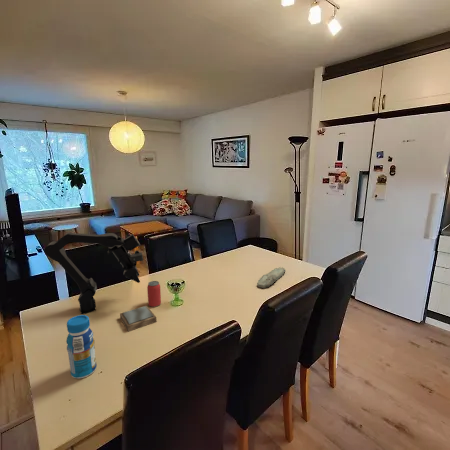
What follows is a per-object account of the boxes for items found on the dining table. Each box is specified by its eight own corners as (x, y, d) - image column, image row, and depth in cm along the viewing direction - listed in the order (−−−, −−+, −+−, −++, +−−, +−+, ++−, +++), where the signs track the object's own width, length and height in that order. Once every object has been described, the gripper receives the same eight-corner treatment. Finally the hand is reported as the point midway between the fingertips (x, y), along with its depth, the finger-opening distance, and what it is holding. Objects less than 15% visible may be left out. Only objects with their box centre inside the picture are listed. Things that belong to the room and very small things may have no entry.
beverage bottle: (64, 375, 92) (57, 323, 88) (85, 359, 100) (79, 311, 96) (83, 382, 89) (76, 329, 85) (102, 365, 97) (97, 316, 93)
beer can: (149, 301, 144) (148, 280, 141) (161, 300, 144) (161, 280, 142) (147, 307, 137) (145, 286, 135) (160, 307, 138) (159, 285, 135)
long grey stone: (288, 274, 185) (275, 271, 191) (289, 266, 185) (275, 264, 190) (268, 290, 156) (253, 287, 162) (268, 281, 156) (253, 278, 161)
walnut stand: (128, 331, 117) (127, 325, 116) (120, 318, 127) (119, 312, 127) (156, 321, 124) (156, 316, 124) (146, 310, 135) (146, 304, 134)
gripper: (137, 252, 128) (154, 277, 133) (136, 242, 145) (151, 264, 151) (116, 264, 126) (134, 289, 131) (117, 253, 143) (133, 275, 148)
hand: (138, 278), depth 140 cm, fingers open, 9 cm apart
